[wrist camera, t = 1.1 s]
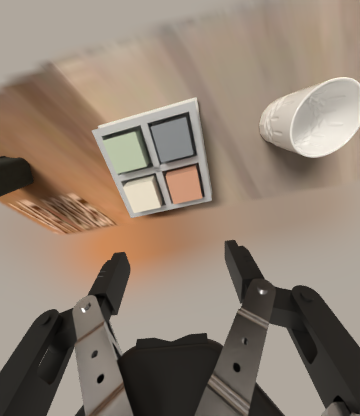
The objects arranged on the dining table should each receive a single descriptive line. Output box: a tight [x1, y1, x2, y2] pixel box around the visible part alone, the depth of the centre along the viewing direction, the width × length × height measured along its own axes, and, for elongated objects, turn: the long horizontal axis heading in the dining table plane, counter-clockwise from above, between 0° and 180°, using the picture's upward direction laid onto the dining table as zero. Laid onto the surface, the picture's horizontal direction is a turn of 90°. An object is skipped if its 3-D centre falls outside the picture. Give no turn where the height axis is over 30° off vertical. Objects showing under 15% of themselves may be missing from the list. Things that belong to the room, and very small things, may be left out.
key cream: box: [123, 174, 163, 213], centre depth 28 cm, size 5×5×3 cm
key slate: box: [151, 117, 193, 163], centre depth 24 cm, size 5×5×3 cm
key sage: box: [103, 131, 150, 174], centre depth 25 cm, size 5×5×3 cm
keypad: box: [92, 97, 212, 218], centre depth 28 cm, size 16×16×5 cm
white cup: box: [259, 77, 360, 158], centre depth 23 cm, size 8×8×10 cm
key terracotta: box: [166, 164, 202, 204], centre depth 27 cm, size 5×5×3 cm
